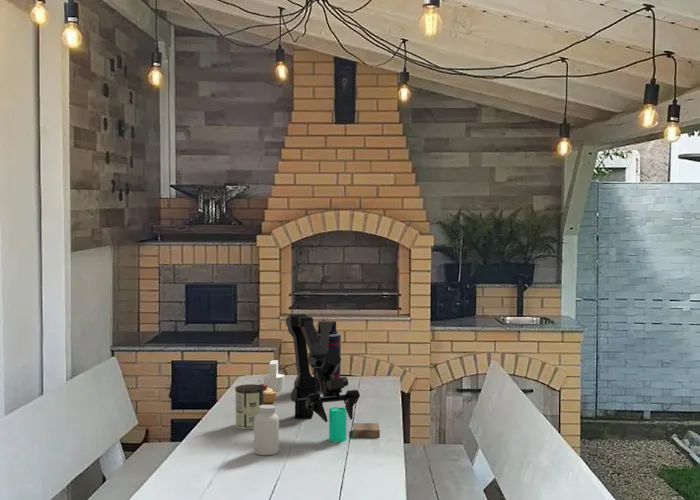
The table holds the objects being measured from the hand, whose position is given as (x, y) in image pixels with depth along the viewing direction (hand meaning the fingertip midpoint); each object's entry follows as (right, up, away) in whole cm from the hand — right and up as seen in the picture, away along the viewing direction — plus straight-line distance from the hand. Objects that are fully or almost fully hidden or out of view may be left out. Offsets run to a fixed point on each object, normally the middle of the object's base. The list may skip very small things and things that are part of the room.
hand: (339, 420), depth 273 cm
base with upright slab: (-30, -3, +77) cm, 83 cm away
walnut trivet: (+9, -7, +9) cm, 14 cm away
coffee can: (-33, -6, +18) cm, 38 cm away
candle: (-1, -7, +2) cm, 7 cm away
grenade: (-7, -3, +78) cm, 79 cm away
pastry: (-32, -4, +53) cm, 62 cm away
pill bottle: (-23, -8, -14) cm, 28 cm away
